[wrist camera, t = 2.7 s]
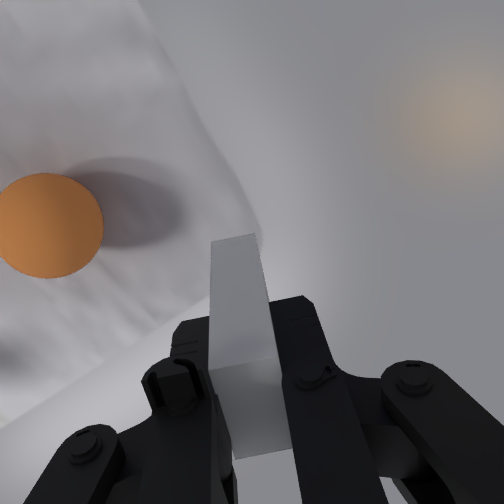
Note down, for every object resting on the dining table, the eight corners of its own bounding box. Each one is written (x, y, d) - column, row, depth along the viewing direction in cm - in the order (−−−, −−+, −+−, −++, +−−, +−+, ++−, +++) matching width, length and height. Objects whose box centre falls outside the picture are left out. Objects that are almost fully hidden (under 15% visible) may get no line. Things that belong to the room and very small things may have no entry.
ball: (36, 259, 28) (-1, 308, 24) (-3, 172, 26) (-53, 206, 21) (124, 240, 28) (106, 285, 23) (94, 151, 26) (66, 181, 21)
